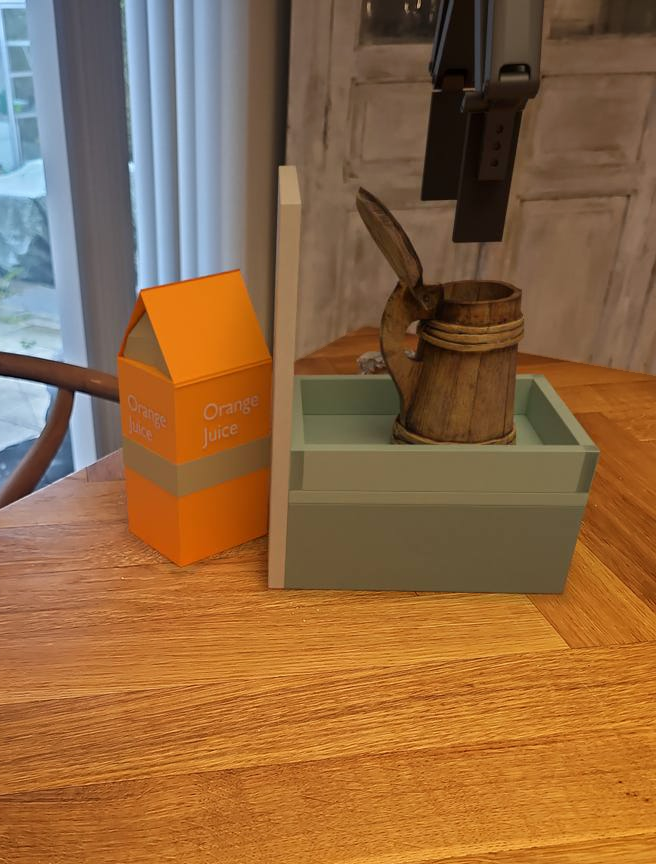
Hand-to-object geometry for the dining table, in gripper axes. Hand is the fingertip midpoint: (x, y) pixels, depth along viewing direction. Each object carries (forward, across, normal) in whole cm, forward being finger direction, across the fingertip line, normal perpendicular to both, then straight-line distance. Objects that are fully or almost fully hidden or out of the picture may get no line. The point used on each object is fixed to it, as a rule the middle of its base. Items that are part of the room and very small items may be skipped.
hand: (456, 219), depth 57 cm
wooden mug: (+16, 0, 0) cm, 16 cm away
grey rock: (+24, -35, +4) cm, 42 cm away
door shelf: (+24, 0, 0) cm, 24 cm away
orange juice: (+24, -1, -18) cm, 30 cm away
